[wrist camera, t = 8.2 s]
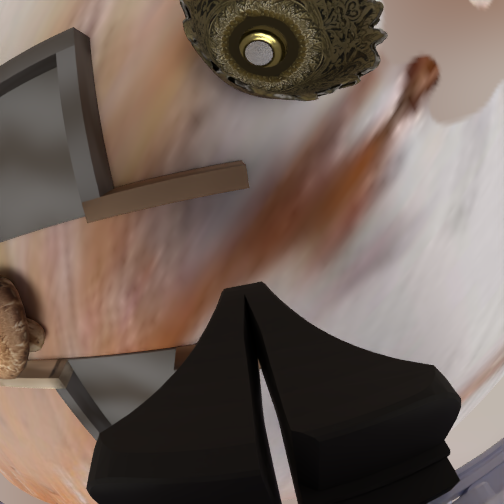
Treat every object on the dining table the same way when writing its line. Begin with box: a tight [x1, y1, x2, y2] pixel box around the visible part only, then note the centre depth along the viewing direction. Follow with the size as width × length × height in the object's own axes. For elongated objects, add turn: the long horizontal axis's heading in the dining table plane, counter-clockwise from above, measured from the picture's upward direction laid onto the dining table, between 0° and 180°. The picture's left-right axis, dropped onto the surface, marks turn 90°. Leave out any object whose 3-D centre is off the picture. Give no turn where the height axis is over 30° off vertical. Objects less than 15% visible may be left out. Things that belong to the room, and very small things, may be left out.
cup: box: [180, 0, 388, 101], centre depth 11 cm, size 8×7×8 cm
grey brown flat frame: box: [0, 27, 261, 441], centre depth 18 cm, size 33×26×2 cm
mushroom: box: [0, 277, 45, 379], centre depth 17 cm, size 8×8×6 cm
